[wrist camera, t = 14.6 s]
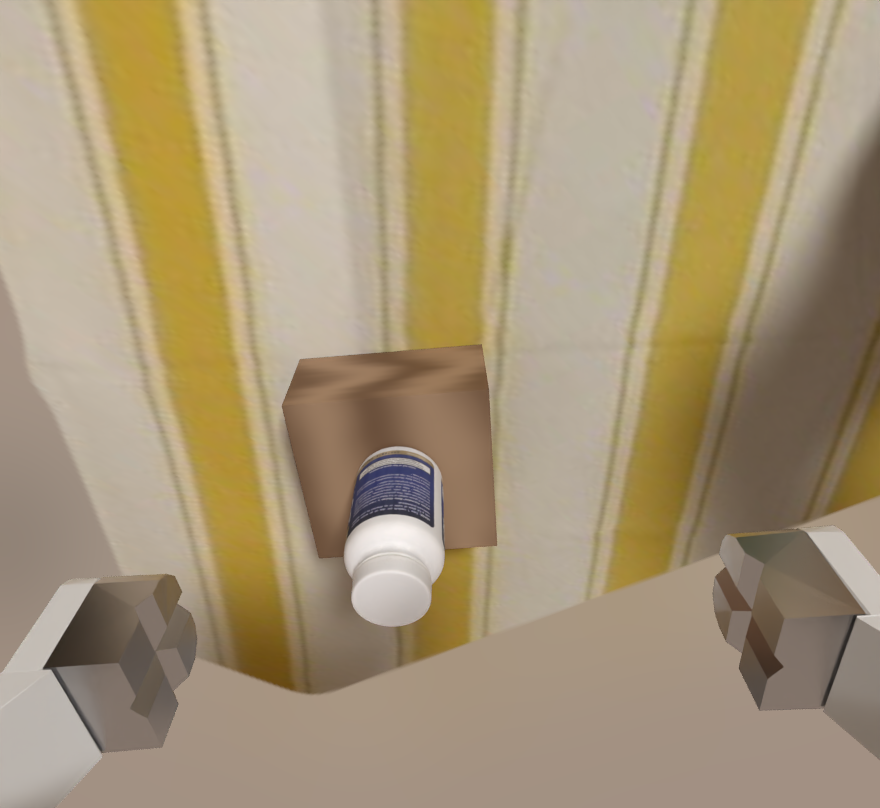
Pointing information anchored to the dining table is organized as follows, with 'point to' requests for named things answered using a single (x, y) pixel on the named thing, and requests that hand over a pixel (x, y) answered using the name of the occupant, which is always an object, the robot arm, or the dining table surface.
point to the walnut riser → (394, 434)
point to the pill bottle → (395, 536)
